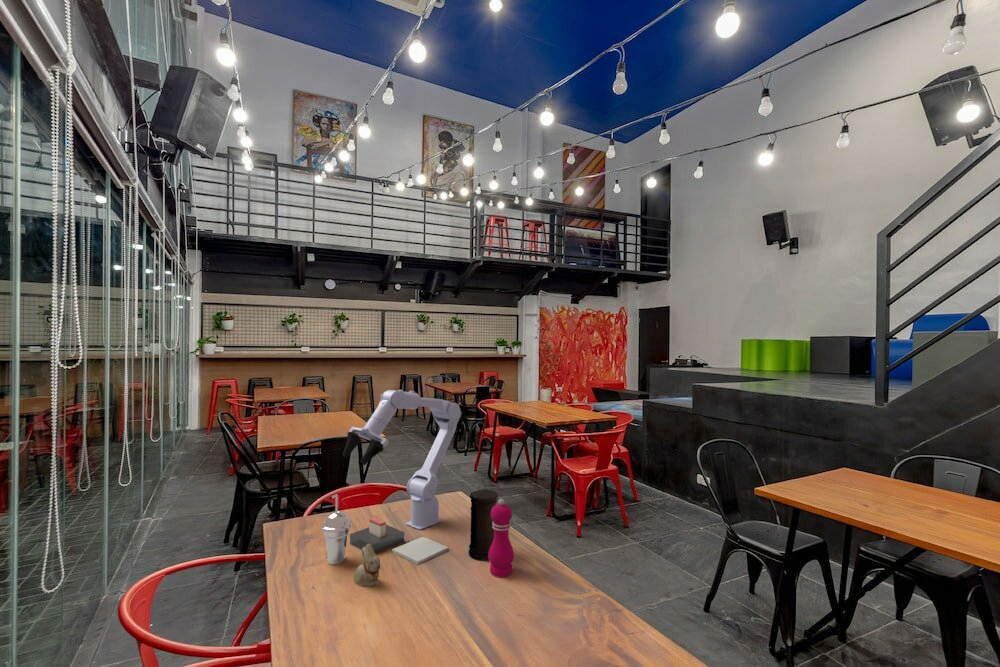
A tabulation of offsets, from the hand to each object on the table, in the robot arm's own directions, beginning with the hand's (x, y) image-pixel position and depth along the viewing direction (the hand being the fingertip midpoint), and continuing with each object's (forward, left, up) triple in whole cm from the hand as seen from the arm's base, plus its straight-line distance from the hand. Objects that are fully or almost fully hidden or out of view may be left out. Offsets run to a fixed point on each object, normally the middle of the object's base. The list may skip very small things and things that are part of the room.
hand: (353, 459), depth 138 cm
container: (-24, +32, -28) cm, 49 cm away
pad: (-13, +16, -28) cm, 34 cm away
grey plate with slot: (-8, +1, -28) cm, 29 cm away
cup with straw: (+7, +2, -28) cm, 29 cm away
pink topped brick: (-8, +1, -28) cm, 29 cm away
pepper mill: (-19, +43, -28) cm, 55 cm away
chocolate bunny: (+8, +19, -28) cm, 34 cm away
